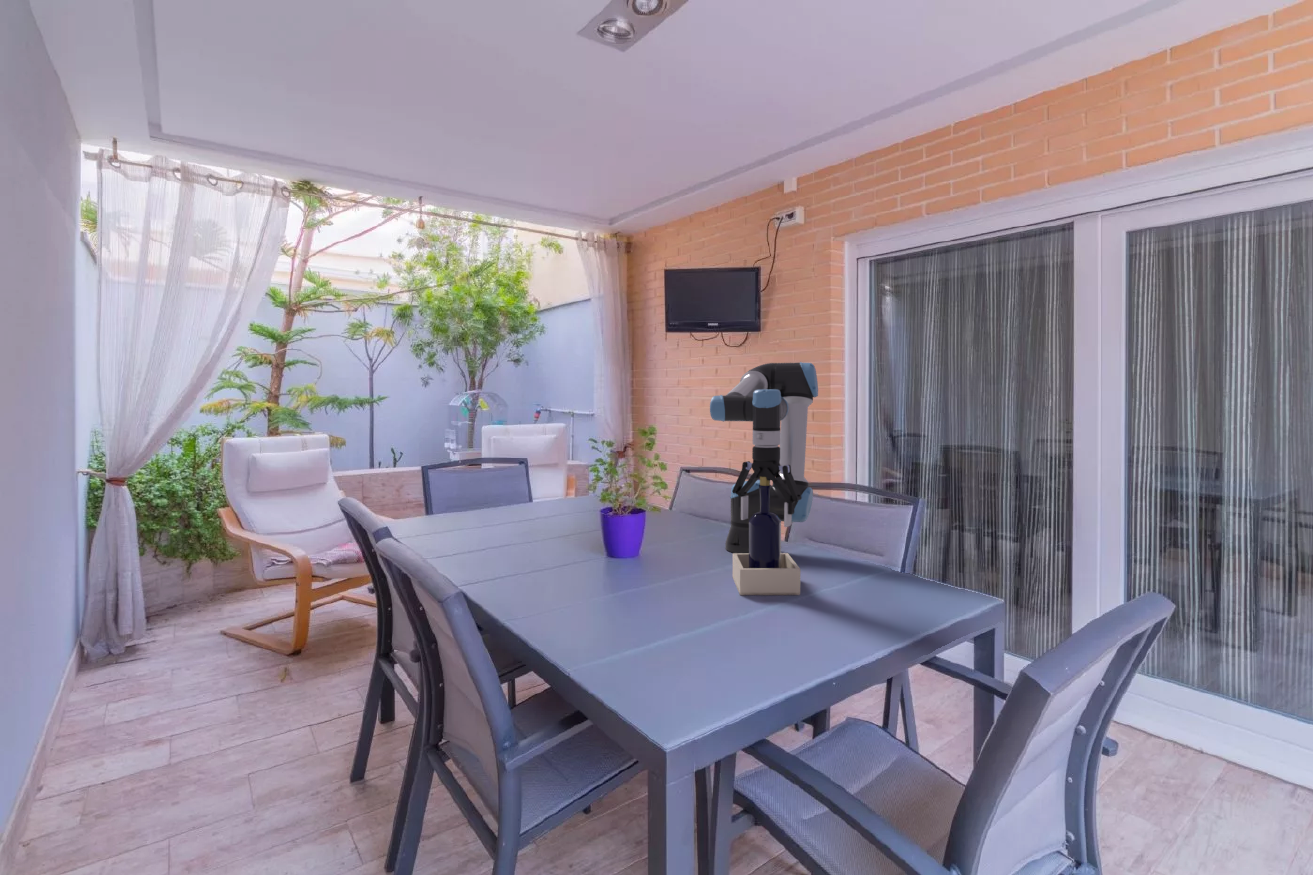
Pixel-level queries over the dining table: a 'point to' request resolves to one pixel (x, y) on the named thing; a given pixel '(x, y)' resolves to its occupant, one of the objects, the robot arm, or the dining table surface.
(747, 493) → the robot arm
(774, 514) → the bottle
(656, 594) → the dining table surface
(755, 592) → the bin
